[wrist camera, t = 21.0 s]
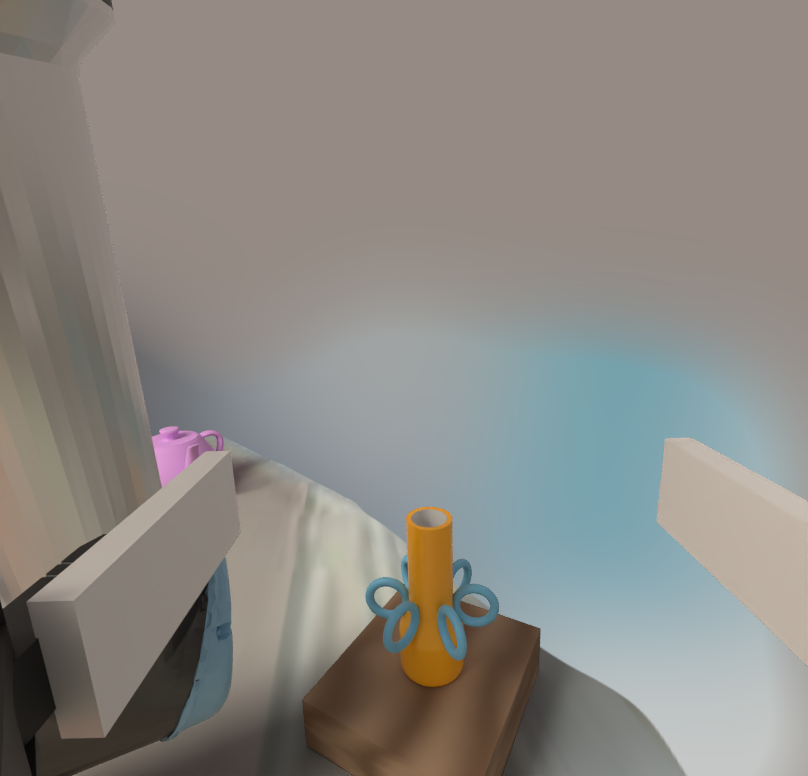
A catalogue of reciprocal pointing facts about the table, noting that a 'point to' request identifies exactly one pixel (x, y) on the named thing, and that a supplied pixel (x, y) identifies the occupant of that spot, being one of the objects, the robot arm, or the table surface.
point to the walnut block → (424, 704)
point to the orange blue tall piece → (430, 602)
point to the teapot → (180, 450)
